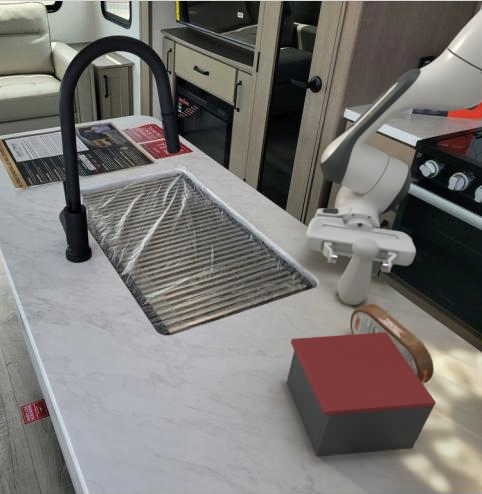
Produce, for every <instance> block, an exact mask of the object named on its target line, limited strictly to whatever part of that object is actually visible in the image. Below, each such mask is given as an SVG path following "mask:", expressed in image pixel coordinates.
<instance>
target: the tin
mask: <svg viewBox="0 0 482 494" xmlns="http://www.w3.org/2000/svg"><path fill="white" fill-rule="evenodd" d="M349 323H350V324H349V325H350V326H349V327H350V331H351V335H354V334H368V333H382V332H387V334H388V335H389V337H390V338H391V340H392V341H393V342H394V344H395V345H396V347H397V348H398V349H399V351H400V352H401V354H402V355H403V357H404V358H405V359H406V361H407V362H408V364H409V365H410V367H411V368H412V369H413V371H414V372H415V374H416V375H417V376H418V378H419V379H420V381H421V382H422V384H425V383H428V382H429V381H430V380H431V379H432V377H433V375H434V369H435V368H434V362H433V358H432V355H431V353H430V352H429V350H428V348H427V347H426V345H425V344H424V343H423V341H422V340H420V338H419V337H417V336H416V335H415V334H413V333H412V332H411V331H410V330H409V329H408V328H406V327H405V326H404V325H403V324H402V323H401V322H399V321H398V320H397V319H396V318H395V317H394V316H392V315H391V314H390V313H389V312H388V311H387V310H386V309H384V308H383V307H382V306H381V305H378V304H376V303H366V304H364V305H363V306H360V307H358V308H355V309H354V310H353V311H352V313H351V316H350V322H349Z"/></svg>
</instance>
